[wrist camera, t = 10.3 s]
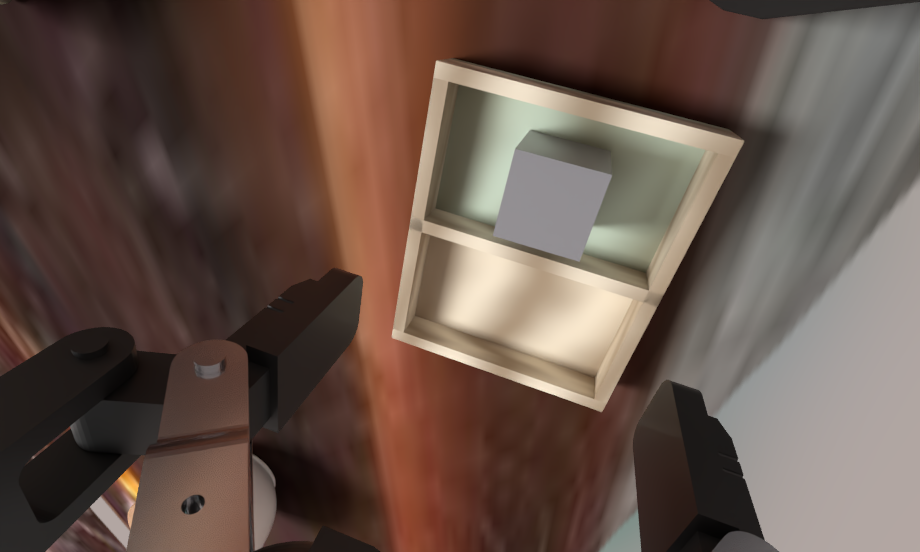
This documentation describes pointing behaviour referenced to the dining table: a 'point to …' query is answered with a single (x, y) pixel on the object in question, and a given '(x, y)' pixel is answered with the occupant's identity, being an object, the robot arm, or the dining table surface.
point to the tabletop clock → (5, 1)
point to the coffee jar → (797, 6)
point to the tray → (535, 271)
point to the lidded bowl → (256, 501)
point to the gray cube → (553, 194)
